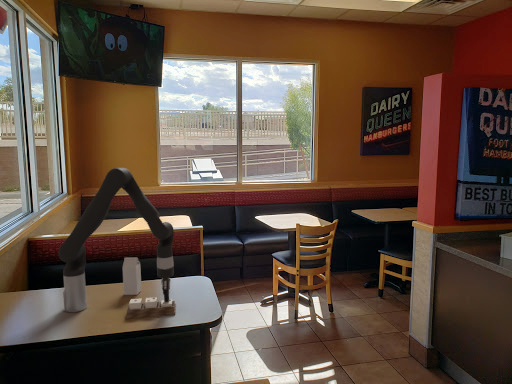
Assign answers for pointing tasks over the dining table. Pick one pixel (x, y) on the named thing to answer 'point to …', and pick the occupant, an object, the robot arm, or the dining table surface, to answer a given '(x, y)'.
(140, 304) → the tile one
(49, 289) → the dining table surface
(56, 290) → the dining table surface
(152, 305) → the tile two
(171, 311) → the brown tile tray
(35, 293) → the dining table surface
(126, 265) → the milk carton
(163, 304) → the tile three
